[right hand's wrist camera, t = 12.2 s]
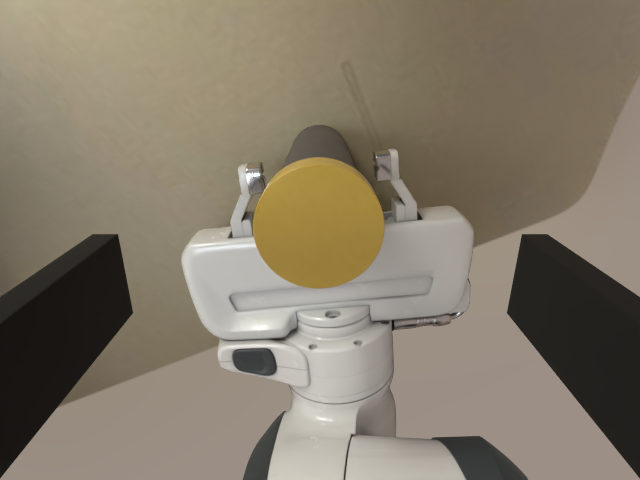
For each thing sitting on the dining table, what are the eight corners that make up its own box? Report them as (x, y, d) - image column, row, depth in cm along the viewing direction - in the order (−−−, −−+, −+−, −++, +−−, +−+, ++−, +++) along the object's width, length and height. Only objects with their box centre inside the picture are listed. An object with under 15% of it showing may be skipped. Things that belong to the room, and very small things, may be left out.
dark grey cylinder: (302, 116, 33) (283, 155, 16) (355, 137, 33) (391, 194, 16) (284, 170, 34) (250, 256, 17) (335, 188, 35) (349, 289, 18)
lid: (280, 138, 17) (276, 144, 15) (398, 182, 17) (406, 192, 16) (243, 250, 19) (236, 266, 17) (352, 286, 19) (355, 304, 18)
